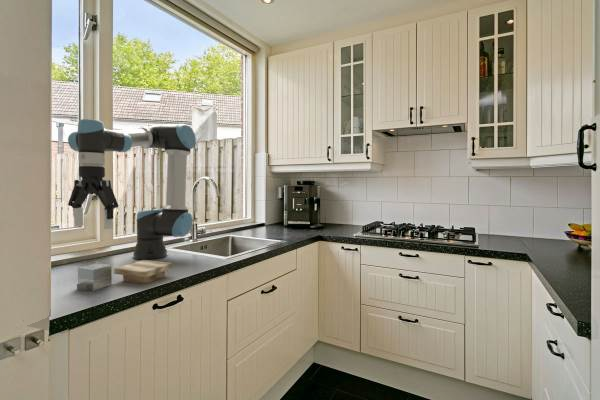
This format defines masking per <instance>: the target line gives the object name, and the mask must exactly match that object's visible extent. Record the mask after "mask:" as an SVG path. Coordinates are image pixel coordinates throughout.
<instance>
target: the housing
mask: <svg viewBox="0 0 600 400" xmlns="http://www.w3.org/2000/svg"><path fill="white" fill-rule="evenodd" d="M112 276H113V275H112V264H105V263H96V262H95V263H92V264H89V265H85V266H80V267H77V282H78V283H77V284H76V290H77V291H80V292H89V291H92V292H93V291H96V290H100V289H104V288H105V287H108V286H111V285H113V284H112V282H113V281H112V279H113V278H112Z"/></svg>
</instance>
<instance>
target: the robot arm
mask: <svg viewBox="0 0 600 400" xmlns="http://www.w3.org/2000/svg"><path fill="white" fill-rule="evenodd" d="M67 142H68V146H69V147H70V149H72V150H73V151H75V152H78V165H80V166H79V167H78V176H79V178H81V179H74V183H73V188H72V191H71V194H70V197H69V199H68V203H67V205H68V207H71V208H72V211H73V212H72V215H73V220H74V221H73V222H74V223H73V225H74V228H79V227H83V226H84V208H83V204H84V202H85V200H86V199H87V197H88V196H89V195H90V194H94V195H96V196H97V198H98V199H99V201H100V203H101V204H102V206H103V207H104V208H103V229H104V230H110V229H113V228H114V227H113V219H114V210H115V209H117V208H119V204H118V203H119V202H118V201H117V198H116V196H115V192H114V190H113V188H112V182H111V180H110V179H104V178H105V176H106V168H105V165H106V161H105V152H116V153H126V152H129V151H130V150H131V148H137V147H140V148H144V149H149V148H150V149H151V148H152V149H163V150H164V152H165V154H166V155H167V167H166V168H167V171H166V174H167V175H166V191H165V192H166V193H165V194H166V197H165V205H164V206H163V207H162V208H155V209H149V210H146V209H145V210H139V211H138V212H137V213H136V244H135V246H134V248H135V249H134V251H133V255H132V256H133V257H132V258H133V259H135V260H157V259H162V258H165V257H166V256H167V257H168V250H167V249H166V248H167V247H166V245H165V242H164V237H174V238H179V237H180V238H181V237H185V236H187V235H188V234H189V233H190V232H191V230H192V228H193V224H194V220H193V216H192V214H191V213H190V212H189V208H188V207H187V205H186V191H187V190H186V188H187V187H186V186H187V165H188V163H187V161H188V158H187V157H188V156H189V155H190V154H191V150H192V149H194V148H195V146H196V143H197V138H196V134H195V132H194V130H193V128H192V127H191V126H190V125H188V124H185V123H170V124H169V123H168V124H157V125H151V126H141V127H139V128H137V129H122V130H121V129H119V130H112V129H107V128H106V127H105V123H104V122H103V121H101V120H97V119H90V118H86V119H85V118H82V119H80V120H78V123H77V131H73V132H72V133H70V134H69V135H68V137H67Z"/></svg>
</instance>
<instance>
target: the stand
mask: <svg viewBox="0 0 600 400" xmlns="http://www.w3.org/2000/svg"><path fill="white" fill-rule="evenodd" d="M171 269H173V263H172V262H166V261H157V260H150V259H141V260H139V261H136V262H132V263H128V264H125V265H121V266H118V267H115V268H114V269H113V272H114V275H120V276H122V280H123V282H127V283H129V282H130V283H136V284H142V285H146V284H149V283H151V282H154V281H156V280H158V279H162V278H164V277H165V275H166V274H165V272H166V271H168V270H171Z"/></svg>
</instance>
